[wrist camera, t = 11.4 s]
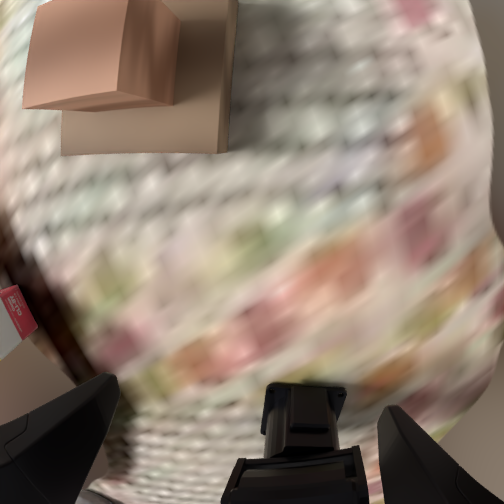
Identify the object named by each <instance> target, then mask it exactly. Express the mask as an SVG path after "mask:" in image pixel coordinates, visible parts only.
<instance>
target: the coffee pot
mask: <svg viewBox="0 0 504 504" xmlns="http://www.w3.org/2000/svg"><path fill="white" fill-rule="evenodd" d="M75 504H113V503H112V502H110V501H109V500H107V499H105V498H103V497H102V496H100V495H98V494H95V493H93V492H90V491H87V490H82V491H80V493H79V496H78V498H77V500H76V503H75Z"/></svg>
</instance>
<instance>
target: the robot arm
mask: <svg viewBox="0 0 504 504" xmlns="http://www.w3.org/2000/svg"><path fill="white" fill-rule="evenodd" d="M271 389H274V390H271ZM339 393H342V394H339ZM346 396H347V392H346V389H344V388H337V387H313V386H296V385H283V384H269V385H268V386H267V387H266V395H265V402H264V409H263V417H262V424H261V431H260V432H261V434H263V435H266V439H265V449H264V458H261V459H246V458H238V460H237V463H236V465H235V467H234V469H233V471H232V474H231V476H230V478H229V481H228V483H227V486H226V488H225V491H224V493H223V495H222V498H221V504H369V493H368V486H367V480H366V475H365V470H364V465H363V461H362V456H361V451H360V447H359V445H357V446H352V448H347V449H341V450H340V447H339V438H338V430H337V420H338V418H339V415H340V412H341V410H342V407H343V404H344V401H345V399H346ZM119 398H120V388H119V384H118V380H117V377H116V375H114V374H111V373H108V372H104V373H102V374H100V375H98V376H96V377H94V378H92V379H91V380H89V381H87V382H85V383H83V384H81V385H80V386H78V387H76V388H74V389H72V390H70V391H69V392H67V393H65V394H63V395H61V396H59V397H57V398H55V399H54V400H52V401H50V402H48V403H46V404H44V405H42V406H40V407H39V408H36V409H35V410H33V411H31V412H29V413H27V414H25V415H23V416H21V417H19V418H17V419H15V420H13V421H10V422H8V423H6V424H3V425H1V426H0V504H75V503H76V500H77V498H78V496H79V493H80V491H81V489H82V487H83V484H84V482H85V480H86V478H87V476H88V473H89V471H90V469H91V467H92V465H93V462H94V460H95V458H96V456H97V454H98V452H99V449H100V447H101V445H102V443H103V441H104V439H105V437H106V435H107V433H108V430H109V427H110V424H111V421H112V419H113V416H114V413H115V410H116V407H117V404H118V401H119ZM377 429H378V449H379V466H380V473H381V480H382V487H383V494H384V501H385V504H504V502H503V501H502V500H500V499H499V498H498V497H496V496H495V495H494V494H492V493H491V492H490V491H489V490H487V489H486V488H484V487H483V486H482V485H481V484H480V483H478V482H477V481H476V480H475V479H474V478H473V477H471V476H470V475H469V474H468V473H467V472H466V471H465V470H464V469H463V468H462V467H461V466H459V464H458V463H457V462H456V461H455V460H454V459H453V458H452V457H450V455H448V453H446V452H445V451H444V450H443V449H442V448H441V447H440V446H439V445H438V444H437V443H436V442H435V441H434V440H433V439H432V438H431V437H430V436H429V435H428V434H427V433H426V432H425V431H424V430H423V429H422V428H421V427H420V426H419V425H418V424H417V423H416V422H415V421H414V420H413V419H412V418H411V417H410V416H409V415H408V414H407V413H406V412H405V411H404V410H403V409H402V408H401V407H400V406H398V405H387V406H386V407H385V408H384V410H383V412H382V414H381V416H380V418H379V421H378V425H377Z"/></svg>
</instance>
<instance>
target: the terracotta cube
mask: <svg viewBox="0 0 504 504" xmlns="http://www.w3.org/2000/svg"><path fill="white" fill-rule="evenodd" d="M180 24H181V21H180V20H179V19H178V17H177V16H176V15H175V14H174V13H173V12H172V11H171V10H170V9H169V8H168V7H167V6H166V5H165V4H164V3H163V2H162V1H161V0H52V1H50V2H47V3H45V4H43V5H40V6H38V8H37V12H36V16H35V21H34V25H33V30H32V35H31V40H30V46H29V52H28V58H27V65H26V72H25V81H24V91H23V103H22V109H47V110H68V111H83V112H101V111H109V110H119V109H130V108H143V107H159V106H173V101H174V86H175V73H176V62H177V51H178V42H179V33H180Z"/></svg>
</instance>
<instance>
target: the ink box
mask: <svg viewBox="0 0 504 504" xmlns="http://www.w3.org/2000/svg"><path fill="white" fill-rule="evenodd" d="M37 328H38V325H37V323H36V322H35V320H34V318H33V316H32V314H31V312H30V310H29V308H28V306H27V304H26V302H25V300H24V298H23V295H22V293H21V291H20V289H19V286H18V285H14V286H11V287H8V288H5V289H2V290H0V361H1V360H2V359H3V358H4V357H6V355H7V354H9V353H10V352H11V351H12V350H13V349H14V348H15V347H16V346H18V345H19V344H20V343H21V342H22V341H23V340H24V339H25V338H26V337H28V336H29V335H30V334H31V333H32V332H33V331H35V330H36V329H37Z"/></svg>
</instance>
